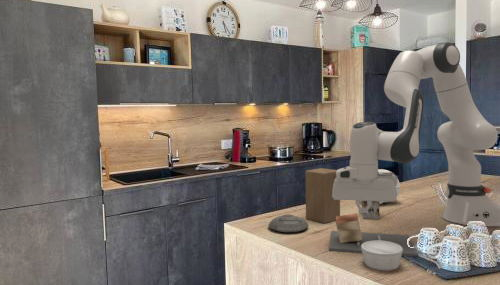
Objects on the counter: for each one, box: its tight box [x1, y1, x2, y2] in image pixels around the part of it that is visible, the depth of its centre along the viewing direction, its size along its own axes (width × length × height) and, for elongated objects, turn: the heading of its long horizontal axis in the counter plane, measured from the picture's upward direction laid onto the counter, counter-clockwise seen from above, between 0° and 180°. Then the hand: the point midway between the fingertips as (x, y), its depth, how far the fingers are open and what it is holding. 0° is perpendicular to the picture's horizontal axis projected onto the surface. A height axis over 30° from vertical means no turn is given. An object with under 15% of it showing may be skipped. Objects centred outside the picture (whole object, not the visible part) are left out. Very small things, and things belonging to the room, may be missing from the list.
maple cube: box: [335, 212, 362, 243], centre depth 127 cm, size 7×7×7 cm
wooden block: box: [305, 167, 341, 224], centre depth 155 cm, size 10×10×20 cm
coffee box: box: [361, 201, 380, 220], centre depth 158 cm, size 9×6×16 cm
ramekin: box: [361, 240, 403, 272], centre depth 108 cm, size 11×11×5 cm
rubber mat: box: [328, 230, 419, 258], centre depth 126 cm, size 26×18×1 cm
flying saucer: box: [267, 214, 309, 233], centre depth 144 cm, size 15×15×6 cm
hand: (363, 213), depth 125 cm, fingers closed
